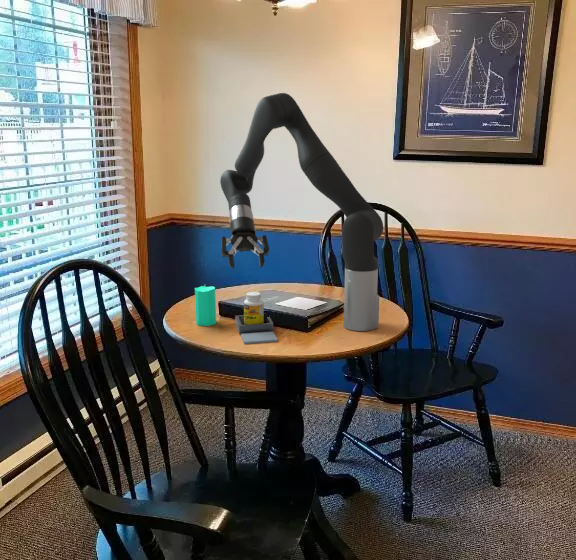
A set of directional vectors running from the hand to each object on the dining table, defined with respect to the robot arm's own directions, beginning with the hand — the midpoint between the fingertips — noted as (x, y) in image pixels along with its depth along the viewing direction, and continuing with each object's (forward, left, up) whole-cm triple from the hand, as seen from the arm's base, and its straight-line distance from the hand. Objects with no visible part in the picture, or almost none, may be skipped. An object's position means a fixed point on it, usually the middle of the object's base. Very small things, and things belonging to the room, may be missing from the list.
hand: (247, 266), depth 177 cm
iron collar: (0, +12, -15) cm, 19 cm away
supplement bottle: (0, +12, -16) cm, 19 cm away
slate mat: (0, +21, -15) cm, 26 cm away
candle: (+13, +4, -16) cm, 21 cm away
